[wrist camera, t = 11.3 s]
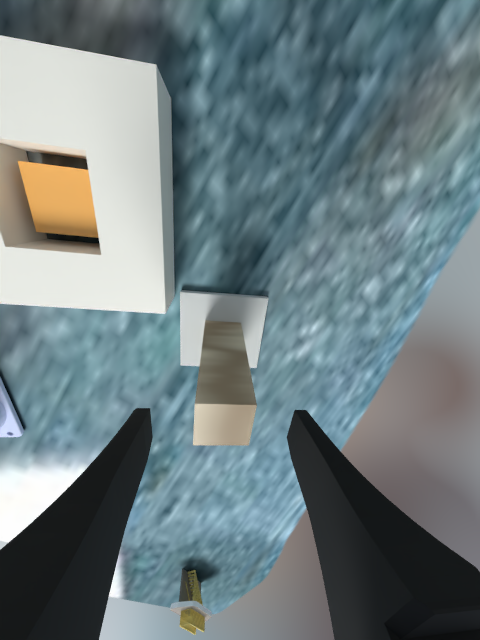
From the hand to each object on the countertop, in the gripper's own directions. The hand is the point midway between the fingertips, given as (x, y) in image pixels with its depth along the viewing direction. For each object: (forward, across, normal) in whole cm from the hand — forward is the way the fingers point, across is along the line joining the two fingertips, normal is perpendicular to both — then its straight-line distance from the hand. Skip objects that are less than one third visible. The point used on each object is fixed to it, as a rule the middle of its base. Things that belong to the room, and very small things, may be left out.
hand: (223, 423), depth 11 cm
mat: (+10, 0, 0) cm, 10 cm away
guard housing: (+10, +10, -9) cm, 17 cm away
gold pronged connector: (+10, +1, +52) cm, 53 cm away
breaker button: (+10, +10, -9) cm, 16 cm away
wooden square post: (+9, 0, 0) cm, 9 cm away
